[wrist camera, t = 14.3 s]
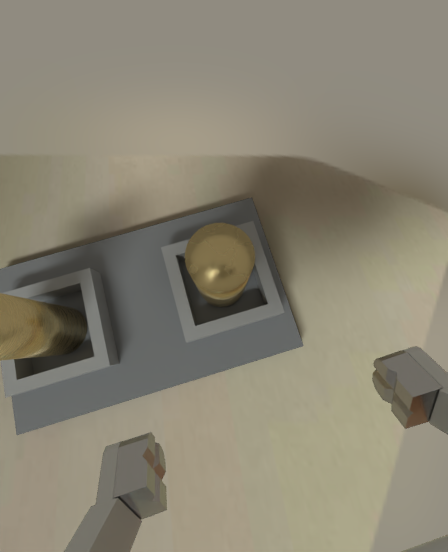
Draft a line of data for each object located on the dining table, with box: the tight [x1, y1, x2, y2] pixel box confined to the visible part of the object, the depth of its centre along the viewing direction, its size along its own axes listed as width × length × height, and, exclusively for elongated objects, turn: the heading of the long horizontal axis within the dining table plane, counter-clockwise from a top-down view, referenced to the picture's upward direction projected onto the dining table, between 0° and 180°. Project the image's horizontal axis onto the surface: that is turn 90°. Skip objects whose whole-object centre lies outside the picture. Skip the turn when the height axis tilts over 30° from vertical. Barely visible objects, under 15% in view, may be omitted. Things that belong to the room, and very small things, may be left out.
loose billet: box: [185, 223, 255, 307], centre depth 21 cm, size 4×4×9 cm
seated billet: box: [0, 293, 87, 361], centre depth 20 cm, size 4×4×9 cm
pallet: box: [0, 198, 303, 435], centre depth 25 cm, size 24×14×3 cm, turn 107°
